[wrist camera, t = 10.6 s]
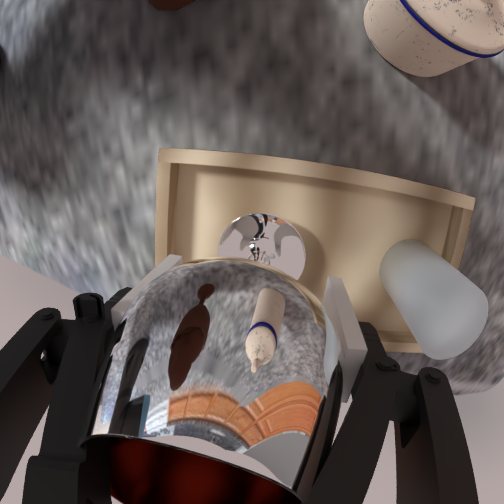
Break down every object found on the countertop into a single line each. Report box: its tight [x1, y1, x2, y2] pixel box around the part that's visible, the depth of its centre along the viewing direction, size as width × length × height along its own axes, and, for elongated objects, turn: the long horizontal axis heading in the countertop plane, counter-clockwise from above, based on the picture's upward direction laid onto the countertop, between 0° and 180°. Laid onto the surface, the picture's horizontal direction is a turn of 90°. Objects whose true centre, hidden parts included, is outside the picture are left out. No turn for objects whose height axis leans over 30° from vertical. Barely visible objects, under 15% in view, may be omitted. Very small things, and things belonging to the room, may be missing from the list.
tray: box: [155, 148, 475, 353], centre depth 23 cm, size 24×14×3 cm, turn 84°
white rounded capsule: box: [379, 239, 489, 360], centre depth 18 cm, size 5×5×9 cm
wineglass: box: [77, 212, 344, 504], centre depth 14 cm, size 8×8×18 cm
